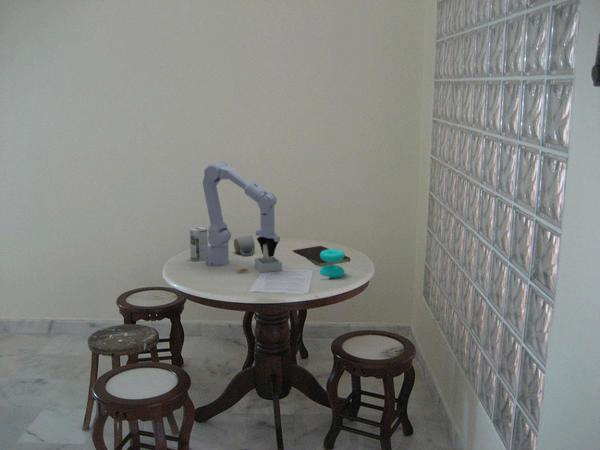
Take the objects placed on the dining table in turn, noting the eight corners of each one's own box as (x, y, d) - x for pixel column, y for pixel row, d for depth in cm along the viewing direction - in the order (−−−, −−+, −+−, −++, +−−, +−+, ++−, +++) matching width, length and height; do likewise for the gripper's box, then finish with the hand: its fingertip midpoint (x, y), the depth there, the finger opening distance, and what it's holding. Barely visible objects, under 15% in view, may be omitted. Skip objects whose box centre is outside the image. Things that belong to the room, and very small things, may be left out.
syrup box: (190, 260, 292) (188, 228, 289) (201, 257, 296) (199, 226, 293) (197, 262, 288) (196, 230, 285) (208, 260, 292) (207, 228, 289)
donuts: (343, 255, 262) (318, 254, 264) (343, 279, 264) (318, 278, 266) (345, 248, 272) (321, 247, 273) (345, 272, 274) (321, 271, 276)
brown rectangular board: (236, 279, 265) (236, 276, 265) (229, 270, 277) (229, 267, 277) (284, 274, 271) (284, 271, 271) (275, 265, 283) (275, 262, 283)
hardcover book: (319, 267, 282) (319, 262, 281) (292, 255, 301) (292, 250, 301) (350, 262, 290) (350, 257, 289) (322, 250, 309) (322, 245, 309)
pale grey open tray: (260, 272, 270) (260, 264, 269) (255, 266, 278) (254, 258, 277) (281, 270, 273) (281, 262, 272) (275, 264, 281) (275, 256, 280)
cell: (266, 260, 272) (266, 245, 270) (261, 258, 275) (261, 243, 273) (274, 258, 274) (274, 243, 272) (269, 256, 277) (269, 241, 275)
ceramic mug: (233, 251, 306) (232, 235, 304) (250, 249, 309) (249, 233, 307) (240, 257, 296) (240, 241, 294) (257, 255, 299) (257, 239, 297)
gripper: (249, 221, 274) (250, 253, 277) (269, 227, 263) (270, 260, 266) (263, 219, 278) (264, 250, 281) (284, 225, 267) (284, 257, 270)
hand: (268, 255), depth 274 cm, fingers closed on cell, 4 cm apart
